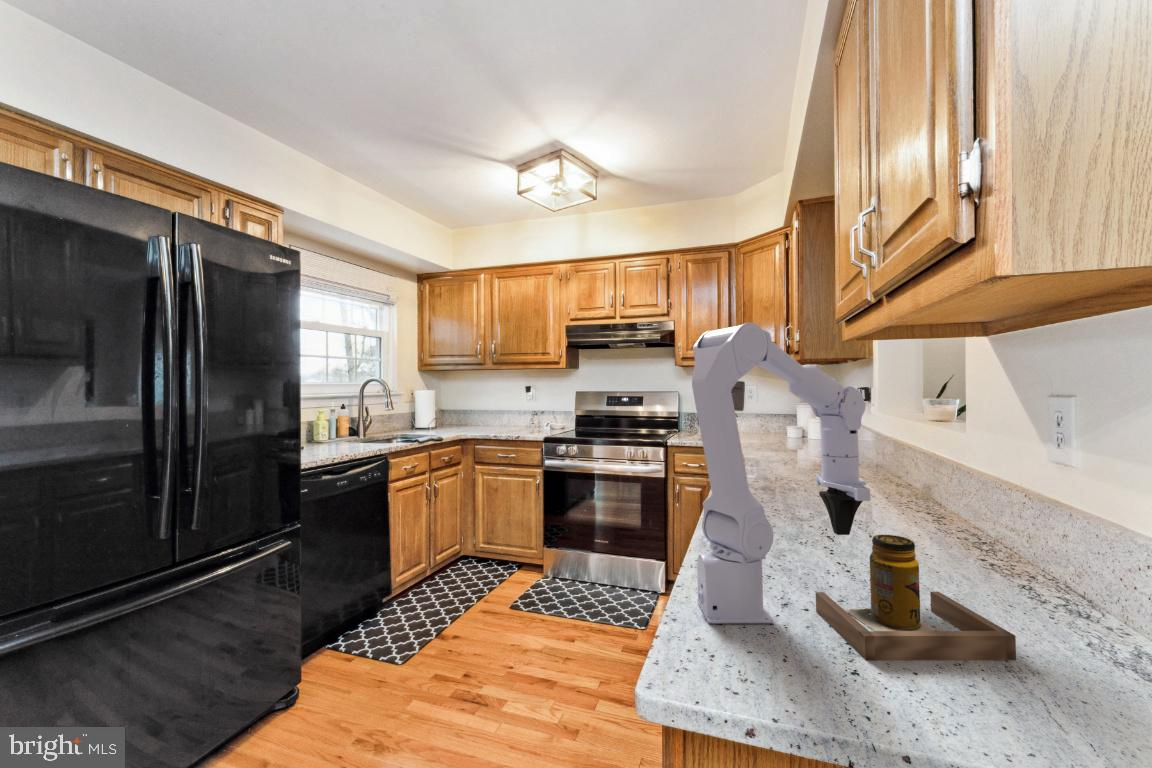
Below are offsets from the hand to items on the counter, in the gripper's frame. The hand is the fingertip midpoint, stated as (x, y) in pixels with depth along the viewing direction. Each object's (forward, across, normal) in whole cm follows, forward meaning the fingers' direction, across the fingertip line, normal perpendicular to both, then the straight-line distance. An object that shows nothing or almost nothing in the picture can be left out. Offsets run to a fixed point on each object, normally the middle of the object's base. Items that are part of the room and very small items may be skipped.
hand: (841, 533), depth 83 cm
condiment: (+9, -13, 0) cm, 16 cm away
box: (+9, -16, 0) cm, 19 cm away
